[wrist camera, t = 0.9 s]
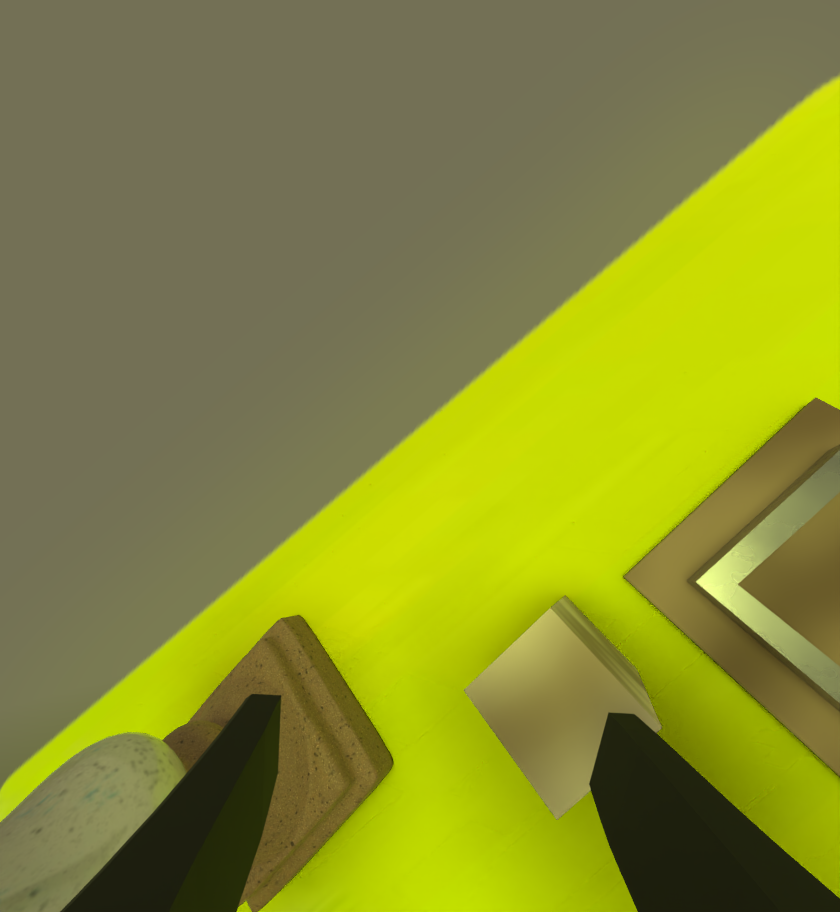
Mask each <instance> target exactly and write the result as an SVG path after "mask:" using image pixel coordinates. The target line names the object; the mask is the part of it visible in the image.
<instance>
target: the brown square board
mask: <svg viewBox="0 0 840 912" xmlns="http://www.w3.org/2000/svg"><path fill="white" fill-rule="evenodd" d="M839 444H840V410H839V409H837V408H835V407H833V406H831V405H829V404H827V403H825V402H824V401H822V400H820V399H818V398H815V399H813V400H812V401H811V402H810V403H808V404H807V405H806V406H805V407H804V408H803V409H801V410H800V411H799V412H798V413H797V414H796V415H795V416H794V417H793V418H792V419H791V420H790V421H789V422H788V423H787V424H785V425H784V426H783V427H782V428H781V429H780V430H779V431H778V432H777V433H776V434H775V435H774V436H773V437H772V438H771V439H769V440H768V441H767V442H766V443H765V444H764V445H763V446H762V447H761V448H760V449H759V450H758V451H757V452H756V453H755V454H753V455H752V456H751V457H750V458H749V459H748V460H747V461H746V462H745V463H744V464H743V465H742V466H741V467H740V468H739V469H738V470H736V471H735V472H734V473H733V474H732V475H731V476H730V477H729V478H728V479H727V480H726V481H725V482H724V483H723V484H722V485H720V486H719V487H718V488H717V489H716V490H715V491H714V492H713V493H712V494H711V495H710V496H709V497H708V498H707V499H706V500H704V501H703V502H702V503H701V504H700V505H699V506H698V507H697V508H696V509H695V510H694V511H693V512H692V513H691V514H690V515H688V516H687V517H686V518H685V519H684V520H683V521H682V522H681V523H680V524H679V525H678V526H677V527H676V528H675V529H674V530H672V531H671V532H670V533H669V534H668V535H667V536H666V537H665V538H664V539H663V540H662V541H661V542H660V543H659V544H658V545H657V546H655V547H654V548H653V549H652V550H651V551H650V552H649V553H648V554H647V555H646V556H645V557H644V558H643V559H642V560H641V561H639V562H638V563H637V564H636V565H635V566H634V567H633V568H632V569H631V570H630V571H629V572H628V573H627V574H626V575H625V576H623V577H624V578H625V579H626V580H627V581H628V582H629V583H630V584H631V585H632V586H633V587H635V588H636V589H637V590H638V591H639V592H640V593H641V594H642V595H643V596H644V597H645V598H646V599H648V600H649V601H650V602H651V603H652V604H653V605H654V606H655V607H656V608H657V609H658V610H659V611H661V612H662V613H663V614H664V615H665V616H666V617H667V618H668V619H669V620H670V621H671V622H672V623H674V624H675V625H676V626H677V627H678V628H679V629H680V630H681V631H682V632H683V633H684V634H685V635H687V636H688V637H689V638H690V639H691V640H692V641H693V642H694V643H695V644H696V645H697V646H698V647H700V648H701V649H702V650H703V651H704V652H705V653H706V654H707V655H708V656H709V657H710V658H711V659H712V660H714V661H715V662H716V663H717V664H718V665H719V666H720V667H721V668H722V669H723V670H724V671H725V672H727V673H728V674H729V675H730V676H731V677H732V678H733V679H734V680H735V681H736V682H737V683H738V684H740V685H741V686H742V687H743V688H744V689H745V690H746V691H747V692H748V693H749V694H750V695H751V696H753V697H754V698H755V699H756V700H757V701H758V702H759V703H760V704H761V705H762V706H763V707H764V708H766V709H767V710H768V711H769V712H770V713H771V714H772V715H773V716H774V717H775V718H776V719H777V720H779V721H780V722H781V723H782V724H783V725H784V726H785V727H786V728H787V729H788V730H789V731H790V732H792V733H793V734H794V735H795V736H796V737H797V738H798V739H799V740H800V741H801V742H802V743H803V744H805V745H806V746H807V747H808V748H809V749H810V750H811V751H812V752H813V753H814V754H815V755H816V756H818V757H819V758H820V759H821V760H822V761H823V762H824V763H825V764H826V765H827V766H828V767H829V768H831V769H832V770H833V771H834V772H835V773H836V774H837V775H838V776H839V777H840V712H839V711H838V710H837V709H836V708H834V707H833V706H832V705H831V704H830V703H828V702H827V701H826V700H825V699H824V698H823V697H821V696H820V695H819V694H818V693H817V692H816V691H814V690H813V689H812V688H811V687H810V686H809V685H807V684H806V683H805V682H804V681H803V680H802V679H800V678H799V677H798V676H797V675H796V674H795V673H793V672H792V671H791V670H790V669H789V668H787V667H786V666H785V665H784V664H783V663H782V662H780V661H779V660H778V659H777V658H776V657H775V656H773V655H772V654H771V653H770V652H769V651H768V650H766V649H765V648H764V647H763V646H762V645H761V644H759V643H758V642H757V641H756V640H755V639H754V638H752V637H751V636H750V635H749V634H748V633H746V632H745V631H744V630H743V629H742V628H741V627H739V626H738V625H737V624H736V623H735V622H734V621H732V620H731V619H730V618H729V617H728V616H727V615H725V614H724V613H723V612H722V611H721V610H720V609H718V608H717V607H716V606H715V605H714V604H713V603H711V602H710V601H709V600H708V599H707V598H705V597H704V596H703V595H702V594H701V593H700V592H698V591H697V590H696V589H695V588H694V587H693V586H691V585H690V584H689V583H688V582H687V581H686V580H687V579H689V578H690V577H691V576H692V575H693V574H694V573H695V572H696V571H697V570H698V569H699V568H701V567H702V566H703V565H704V564H705V563H706V562H707V561H708V560H709V559H710V558H711V557H712V556H714V555H715V554H716V553H717V552H718V551H719V550H720V549H721V548H722V547H723V546H724V545H726V544H727V543H728V542H729V541H730V540H731V539H732V538H733V537H734V536H735V535H736V534H738V533H739V532H740V531H741V530H742V529H743V528H744V527H745V526H746V525H747V524H748V523H750V522H751V521H752V520H753V519H754V518H755V517H756V516H757V515H758V514H759V513H760V512H762V511H763V510H764V509H765V508H766V507H767V506H768V505H769V504H770V503H771V502H772V501H773V500H775V499H776V498H777V497H778V496H779V495H780V494H781V493H782V492H783V491H784V490H785V489H787V488H788V487H789V486H790V485H791V484H792V483H793V482H794V481H795V480H796V479H797V478H799V477H800V476H801V475H802V474H803V473H804V472H805V471H806V470H807V469H808V468H809V467H811V466H812V465H813V464H814V463H815V462H816V461H817V460H818V459H819V458H820V457H821V456H823V455H824V454H825V453H826V452H827V451H828V450H830V449H832V448H834V447H836V446H837V445H839ZM738 585H739V586H740V587H742V588H743V589H744V590H745V591H747V592H748V593H749V594H750V595H751V596H753V597H754V598H755V599H756V600H758V601H759V602H760V603H761V604H763V605H764V606H765V607H766V608H768V609H769V610H770V611H771V612H773V613H774V614H775V615H776V616H778V617H779V618H780V619H781V620H783V621H784V622H785V623H786V624H788V625H789V626H790V627H791V628H793V629H794V630H795V631H796V632H797V633H799V634H800V635H801V636H802V637H804V638H805V639H806V640H807V641H809V642H810V643H811V644H812V645H814V646H815V647H816V648H817V649H819V650H820V651H821V652H822V653H824V654H825V655H826V656H827V657H829V658H830V659H831V660H832V661H834V662H835V663H836V664H837V665H839V666H840V492H839V493H838V494H837V495H836V496H835V497H834V498H833V499H832V500H831V501H829V502H828V503H827V504H826V505H825V506H824V507H823V508H822V509H821V510H820V511H818V512H817V513H816V514H815V515H814V516H813V517H812V518H811V519H810V520H808V521H807V522H806V523H805V524H804V525H803V526H802V527H801V528H800V529H798V530H797V531H796V532H795V533H794V534H793V535H792V536H791V537H790V538H788V539H787V540H786V541H785V542H784V543H783V544H782V545H781V546H780V547H778V548H777V549H776V550H775V551H774V552H773V553H772V554H771V555H770V556H769V557H767V558H766V559H765V560H764V561H763V562H762V563H761V564H760V565H759V566H757V567H756V568H755V569H754V570H753V571H752V572H751V573H750V574H749V575H747V576H746V577H745V578H744V579H743V580H742V581H741V582H740V583H739V584H738Z"/></svg>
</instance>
